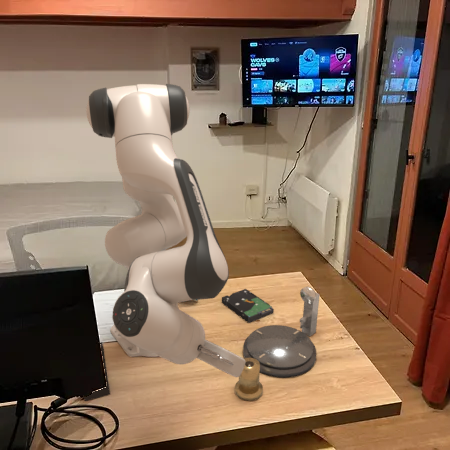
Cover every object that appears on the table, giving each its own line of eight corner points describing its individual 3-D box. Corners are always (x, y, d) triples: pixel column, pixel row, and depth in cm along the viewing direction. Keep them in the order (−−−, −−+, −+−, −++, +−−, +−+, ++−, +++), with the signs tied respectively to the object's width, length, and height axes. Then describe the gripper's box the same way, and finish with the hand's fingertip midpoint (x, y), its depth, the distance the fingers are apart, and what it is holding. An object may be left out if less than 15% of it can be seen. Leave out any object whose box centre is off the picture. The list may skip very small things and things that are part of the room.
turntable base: (228, 352, 125) (228, 348, 124) (274, 324, 138) (274, 319, 137) (285, 389, 112) (286, 383, 111) (330, 353, 125) (330, 348, 124)
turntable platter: (233, 347, 124) (233, 343, 124) (274, 321, 136) (274, 317, 136) (285, 379, 112) (285, 374, 112) (325, 348, 124) (326, 343, 124)
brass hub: (229, 390, 111) (229, 363, 108) (248, 377, 115) (248, 351, 113) (249, 405, 106) (250, 377, 104) (268, 391, 111) (269, 364, 108)
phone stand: (80, 378, 115) (74, 338, 110) (104, 372, 117) (99, 333, 113) (84, 402, 107) (79, 360, 103) (110, 395, 109) (105, 354, 105)
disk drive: (220, 304, 150) (249, 325, 138) (220, 297, 149) (249, 317, 137) (245, 295, 155) (274, 314, 144) (245, 288, 154) (274, 306, 143)
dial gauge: (293, 335, 133) (296, 287, 127) (305, 327, 137) (309, 280, 131) (306, 342, 130) (310, 293, 124) (318, 333, 134) (323, 286, 128)
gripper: (232, 342, 78) (262, 361, 89) (150, 305, 90) (185, 325, 101) (216, 377, 76) (249, 391, 87) (135, 334, 88) (172, 352, 99)
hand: (214, 356), depth 94 cm, fingers open, 8 cm apart
